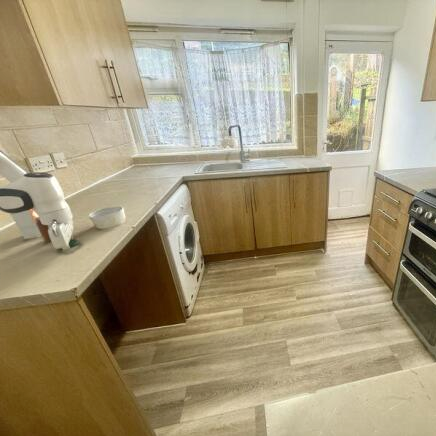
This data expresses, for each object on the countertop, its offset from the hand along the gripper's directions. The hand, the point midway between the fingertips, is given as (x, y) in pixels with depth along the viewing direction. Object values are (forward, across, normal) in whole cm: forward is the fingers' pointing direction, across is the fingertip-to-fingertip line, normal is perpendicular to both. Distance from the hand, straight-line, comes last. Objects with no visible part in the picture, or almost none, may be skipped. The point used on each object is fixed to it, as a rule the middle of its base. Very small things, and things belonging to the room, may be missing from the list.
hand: (70, 248), depth 96 cm
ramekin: (0, +15, -14) cm, 21 cm away
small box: (0, +23, +13) cm, 27 cm away
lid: (-2, 0, 0) cm, 2 cm away
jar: (0, +12, +6) cm, 13 cm away
